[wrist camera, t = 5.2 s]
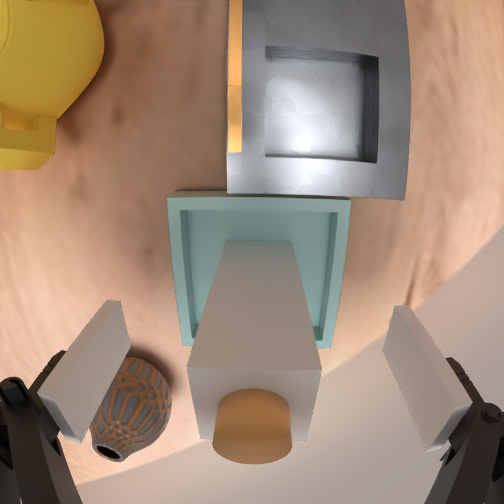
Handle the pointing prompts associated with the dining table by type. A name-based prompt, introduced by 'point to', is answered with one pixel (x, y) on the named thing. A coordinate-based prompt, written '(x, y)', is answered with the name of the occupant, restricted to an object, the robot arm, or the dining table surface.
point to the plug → (255, 355)
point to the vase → (131, 411)
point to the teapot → (43, 72)
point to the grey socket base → (318, 97)
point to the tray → (258, 229)
